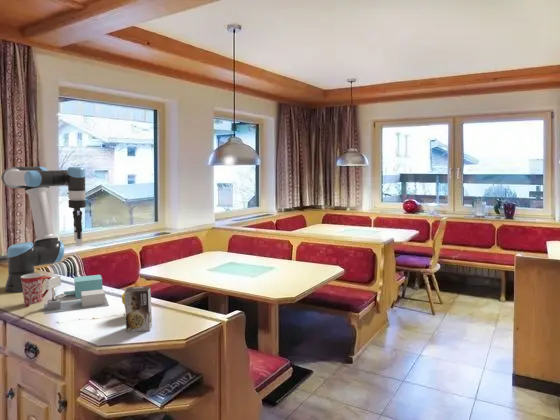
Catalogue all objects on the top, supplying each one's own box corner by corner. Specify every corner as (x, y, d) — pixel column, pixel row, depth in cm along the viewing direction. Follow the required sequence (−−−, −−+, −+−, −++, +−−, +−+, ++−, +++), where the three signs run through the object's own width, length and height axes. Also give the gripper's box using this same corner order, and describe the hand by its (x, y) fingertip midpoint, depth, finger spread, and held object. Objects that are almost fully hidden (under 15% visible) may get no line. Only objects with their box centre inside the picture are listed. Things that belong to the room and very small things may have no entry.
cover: (63, 296, 221) (62, 278, 220) (101, 292, 228) (100, 274, 228) (64, 301, 212) (63, 283, 211) (102, 297, 219) (102, 279, 219)
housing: (44, 306, 204) (43, 293, 204) (105, 299, 216) (105, 286, 215) (43, 317, 191) (43, 302, 190) (109, 308, 202) (108, 295, 202)
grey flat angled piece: (45, 302, 195) (44, 280, 194) (62, 295, 206) (61, 274, 205) (49, 302, 195) (48, 280, 194) (66, 295, 206) (65, 274, 205)
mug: (25, 308, 202) (23, 279, 201) (19, 304, 209) (18, 275, 207) (55, 302, 211) (54, 274, 210) (49, 298, 217) (47, 270, 216)
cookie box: (152, 325, 182) (151, 285, 180) (149, 331, 175) (148, 290, 174) (128, 326, 181) (127, 286, 179) (125, 332, 174) (124, 291, 173)
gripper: (67, 197, 226) (68, 238, 229) (69, 202, 204) (70, 248, 207) (83, 196, 230) (84, 237, 232) (87, 201, 208) (88, 247, 210)
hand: (78, 242), depth 220 cm, fingers open, 13 cm apart
